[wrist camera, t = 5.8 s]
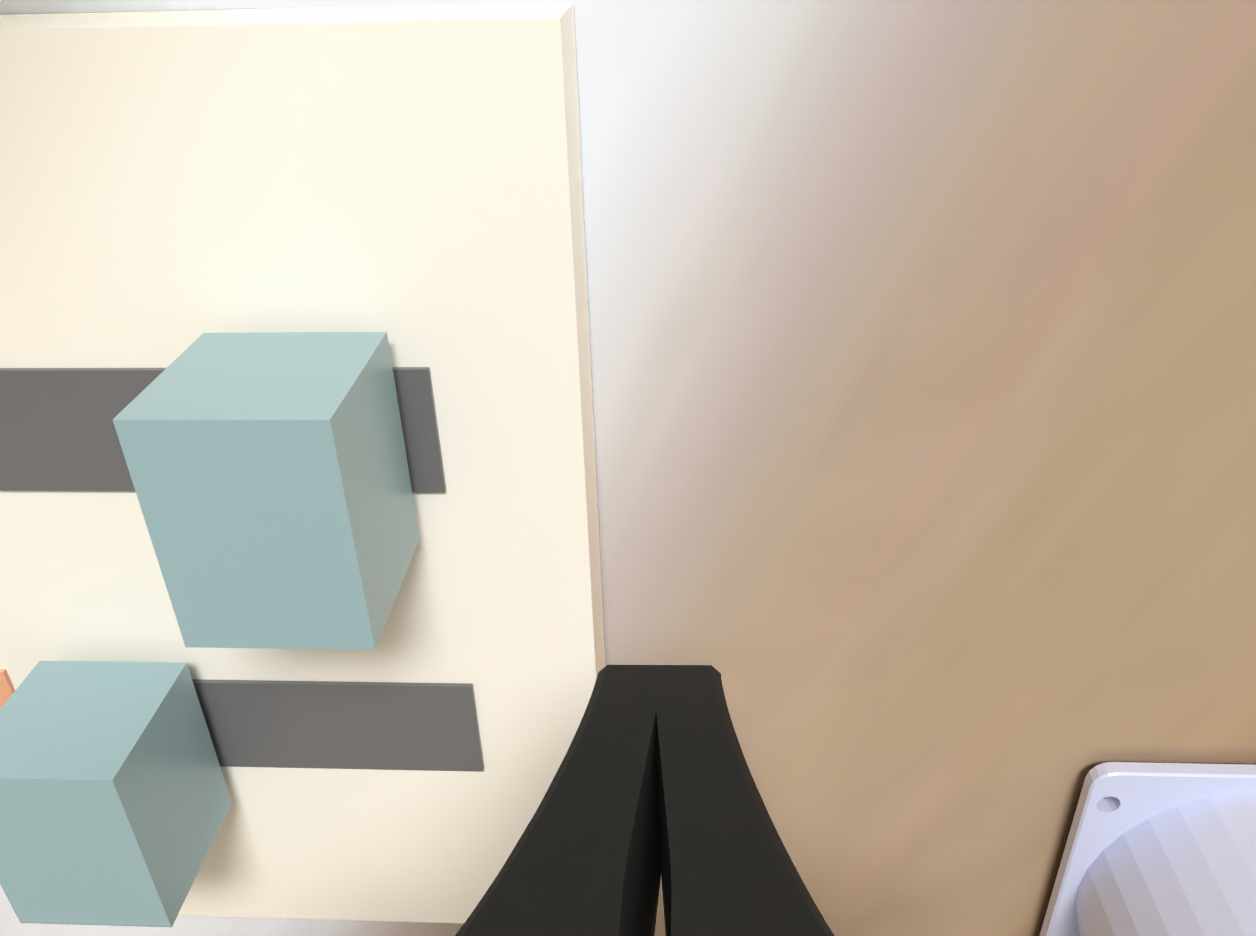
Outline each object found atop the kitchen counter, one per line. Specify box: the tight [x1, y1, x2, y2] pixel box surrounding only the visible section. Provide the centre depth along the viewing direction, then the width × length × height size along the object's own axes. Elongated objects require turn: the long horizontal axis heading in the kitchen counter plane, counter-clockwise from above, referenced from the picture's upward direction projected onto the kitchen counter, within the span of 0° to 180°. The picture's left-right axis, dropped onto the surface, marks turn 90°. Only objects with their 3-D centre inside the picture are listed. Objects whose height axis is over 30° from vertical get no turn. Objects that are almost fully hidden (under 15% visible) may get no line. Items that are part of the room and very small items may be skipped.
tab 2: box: [113, 332, 419, 650], centre depth 16 cm, size 4×3×3 cm
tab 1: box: [0, 661, 232, 927], centre depth 20 cm, size 4×3×3 cm
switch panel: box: [0, 2, 606, 924], centre depth 20 cm, size 20×14×2 cm
